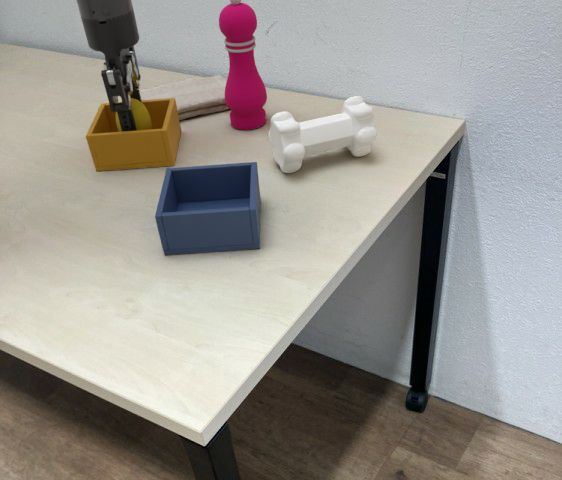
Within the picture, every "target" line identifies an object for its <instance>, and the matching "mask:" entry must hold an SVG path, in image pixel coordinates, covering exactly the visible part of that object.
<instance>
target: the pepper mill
mask: <svg viewBox="0 0 562 480" xmlns="http://www.w3.org/2000/svg"><path fill="white" fill-rule="evenodd" d="M229 2H230V3H229V4H227V5H225V6H224V7H223V8H222V9H221V10H220V13H219V16H218V26H219V30H220V32H221V34H222V35H223V36H224V37H225V38H224V39H223V42H224V45H225V46H224V49H225V51H227V54H228V59H229V68H228V75H227V83H226V86H225V103H226V105H227V106H228V107H229V109H228V110H230V113H229V120H230V126H231V127H232V128H234V129H237V130H240V131H241V130H242V131H249V130H256V129H258V128H261V127H263V126H264V125H265V124H266V122H267V114H266V110H265V108H264V106H265V105H266V103H267V100H268V94H267V88H266V86H265V83H264V81H263V79H262V77H261V75H260V72H259V71H258V67H257V64H256V60H255V48H256V47H257V43H256V37H255V36H254V34H255V32H256V30H257V28H258V19H257V15H256V13H255V10H254V9H253V8H252V7H251V6H250V5H249V4H247V3H245V2H242V0H229Z"/></svg>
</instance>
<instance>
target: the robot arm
mask: <svg viewBox="0 0 562 480" xmlns="http://www.w3.org/2000/svg"><path fill="white" fill-rule="evenodd" d="M75 1H76V4H77V7H78V11H79V15H80V19H81V22H82V26H83V30H84V32H85V33H84V34H85V37H86V41H87V45H88V47H89V48H90V49H91V50H93V51H95V52H100V53H102V54H103V55H104V61H103V69H102V70H101V72H100V75H101V78H102V81H103V85H104V89H105V93H106V96H107V100H108V103H109V104H110V109H111V111H112V112H117V114H118V117H119V121H120V125H121V129H122V132H123V131H137V128H136V124H135V120H134V115H133V111H132V105H131V98H133V99H136V100H139V101H140V102H142V100H141V96H140V91H141V90H140V88H141V83H140V81H141V78H142V76H141V73H140V68H139V65H138V59H137V55H136V50H135V46H136V45H137V44H138V43H139V41H140V33H139V29H138V24H137V20H136V19H137V18H136V15H135V10H134V5H133V1H132V0H75ZM119 97H120V99H121V101H120V102H121V103H118V102H119ZM130 97H131V98H130Z"/></svg>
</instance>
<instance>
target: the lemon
mask: <svg viewBox="0 0 562 480" xmlns="http://www.w3.org/2000/svg"><path fill="white" fill-rule="evenodd" d="M130 98H131V97H130ZM131 105H132V111H133V115H134V120H135V124H136V128H137V130H150V129H152V123H151V118H150V115H149V113H148V111H147V109H146V107H145V106H144V104H143V103H142V102H140V101H139V100H136V99H133V98H131ZM116 124H117V128H118V131H119V132H122V129H121V125H120V121H119V117H118V114H117V112H116Z"/></svg>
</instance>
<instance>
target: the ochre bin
mask: <svg viewBox="0 0 562 480" xmlns="http://www.w3.org/2000/svg"><path fill="white" fill-rule="evenodd" d="M121 102H122V101H118V103H121ZM142 103H143V104H144V106H145V107H146V109H147V111H148V113H149V115H150V118H151V123H152V129H150V130H137V131H123V132H119V131H118V128H117V124H116V112H112V111H111V109H110V104H109V102H103V103H100V105H99V107H98V109H97V111H96V113H95V116H94V118H93V119H92V122H91V124H90V126H89V128H88V131H87V132H86V134H85V139H86V142H87V145H88V150H89V153H90V155H91V158H92V162H93V165H94V169H95V171H96V172H103V171H104V172H107V171H120V170H121V171H122V170H133V169H148V168H160V167H162V168H163V167H173V166H175V162H176V157H177V154H178V148H179V144H180V139H181V135H182V127H181V122H180V121H181V120H179V116H178V111H177V105H176V100H175V98H171V99H170V98H166V99H153V100H142Z"/></svg>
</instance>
